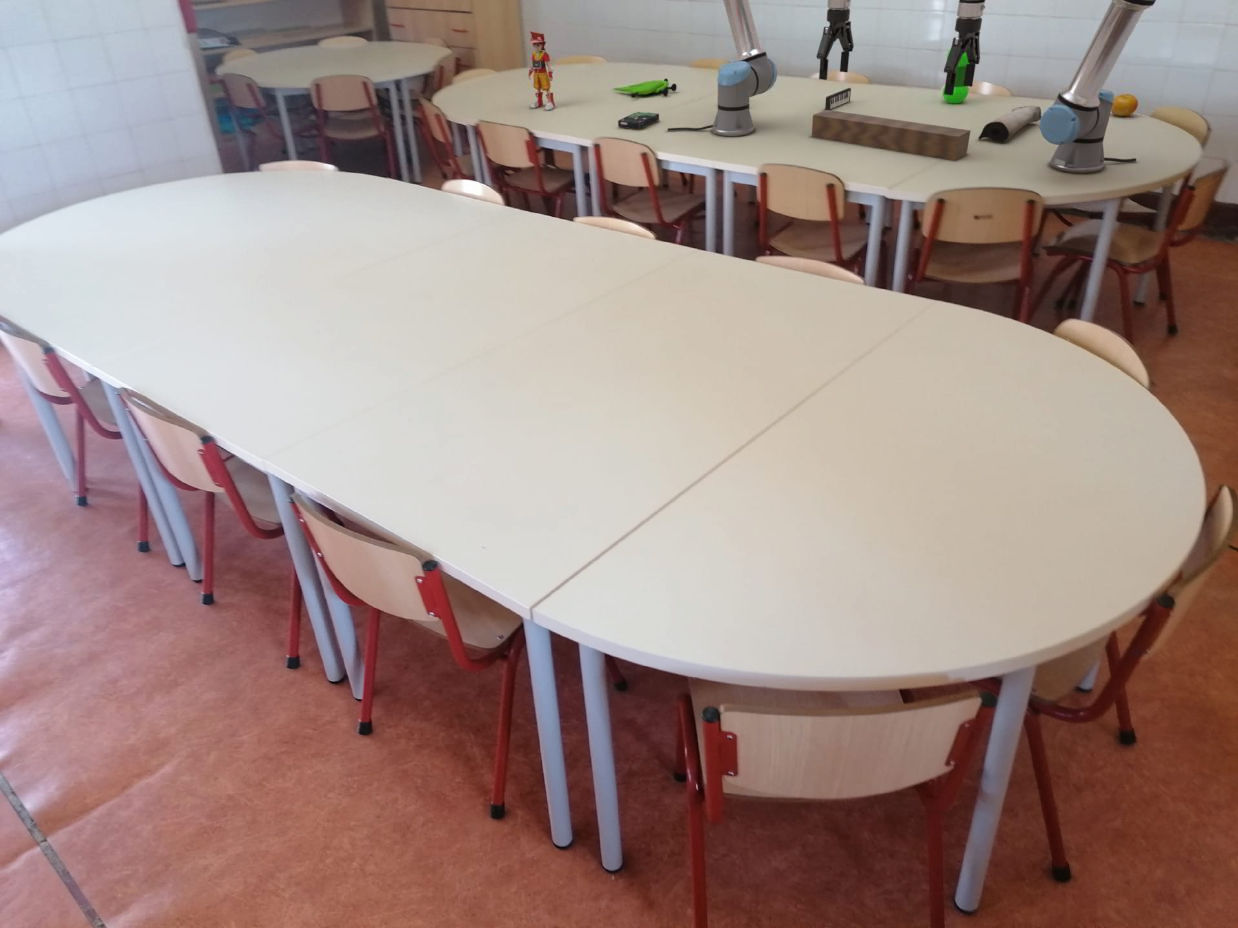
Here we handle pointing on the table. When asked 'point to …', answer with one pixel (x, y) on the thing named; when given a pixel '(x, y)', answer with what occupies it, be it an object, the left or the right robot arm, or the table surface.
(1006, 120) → the rolled mat
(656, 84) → the toy
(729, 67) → the left robot arm
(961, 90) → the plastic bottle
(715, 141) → the table surface
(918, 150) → the thick board
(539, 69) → the toy
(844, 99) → the midi keyboard
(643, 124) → the disk drive
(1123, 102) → the fruit
